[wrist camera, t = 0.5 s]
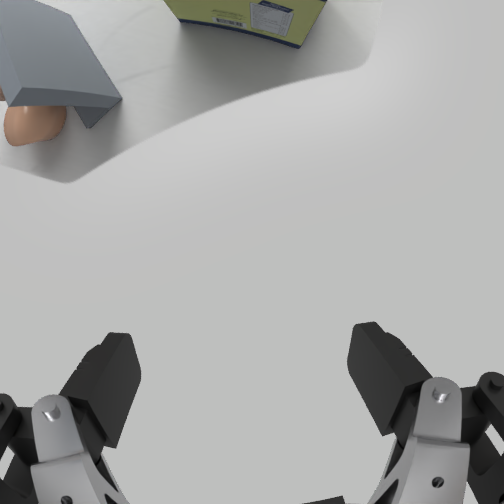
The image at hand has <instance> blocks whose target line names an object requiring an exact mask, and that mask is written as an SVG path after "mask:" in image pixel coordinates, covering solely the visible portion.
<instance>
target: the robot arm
mask: <svg viewBox="0 0 504 504" xmlns="http://www.w3.org/2000/svg"><path fill="white" fill-rule="evenodd" d="M347 365H348V371H349V374H350V376H351V377H352V379H353V381H354V383H355V385H356V387H357V389H358V391H359V392H360V394H361V396H362V398H363V400H364V402H365V404H366V406H367V408H368V410H369V412H370V413H371V415H372V417H373V419H374V421H375V423H376V425H377V427H378V429H379V431H380V433H381V435H382V436H385V435H388V434H390V433H395V435H396V439H395V441H394V443H393V446H392V449H391V452H390V456H389V458H388V461H387V464H386V467H385V470H384V472H383V475H382V477H381V480H380V482H379V485H378V487H377V488H376V490H375V492H374V494H373V495H372V497H371V499H370V500H369V502H368V504H463V499H464V493H465V488H466V482H468V484H469V485H470V487H471V489H472V491H473V493H474V495H475V498H476V500H477V502H478V504H504V453H503V454H502V456H500V454H499V453H498V451H497V450H496V448H495V447H494V445H493V444H492V442H491V440H490V439H489V437H488V436H487V434H486V433H485V431H486V430H487V428H488V427H489V426H490V424H492V425H493V426H494V428H495V429H496V431H497V432H498V433H499V435H500V437H501V438H502V439H503V441H504V376H503V375H502V374H499V373H496V372H487V373H484V374H483V375H482V376H481V377H480V379H479V381H478V383H477V385H476V386H473V387H465V388H459V386H458V385H457V384H456V383H454V382H453V381H452V380H450V379H447V378H443V377H434V378H433V377H432V376H431V374H430V373H429V372H428V371H427V370H426V369H425V368H424V366H423V365H422V364H421V363H420V362H419V361H418V359H417V358H416V357H415V356H414V355H412V353H411V351H410V350H409V349H408V348H407V349H406V346H405V345H404V344H403V343H402V341H401V340H400V339H398V338H397V337H395V336H394V335H392V334H390V333H388V332H387V333H385V332H384V331H383V330H382V328H381V327H380V326H379V325H378V324H377V323H376V322H367V323H361V324H356V325H355V326H354V327H353V331H352V338H351V343H350V348H349V353H348V359H347ZM140 381H141V369H140V365H139V361H138V358H137V354H136V351H135V348H134V344H133V340H132V337H131V335H130V334H128V333H113V332H110V333H108V335H107V336H106V337H105V339H104V340H103V342H102V343H101V345H97V346H95V347H94V348H92V349H91V350H89V351H88V352H87V353H86V355H85V356H84V358H83V359H82V362H80V363H79V365H78V366H77V370H75V371H74V372H73V374H72V375H71V377H70V378H69V380H68V381H67V383H66V384H65V385H64V387H63V389H62V390H61V392H60V394H59V395H48V396H45V397H43V398H41V399H39V400H38V401H37V402H36V403H35V404H34V406H33V407H17V406H16V404H15V403H14V401H13V400H12V398H11V397H10V396H9V395H7V394H0V460H1V457H2V456H3V454H4V452H5V450H6V447H7V446H8V447H9V448H10V449H11V450H12V451H13V452H14V454H15V455H14V457H13V459H12V461H11V463H10V466H9V468H8V470H7V473H6V475H5V477H4V480H2V479H1V478H0V504H129V502H128V501H127V500H126V498H125V497H124V495H123V493H122V492H121V490H120V488H119V486H118V484H117V482H116V481H115V478H114V476H113V475H112V473H111V470H110V468H109V466H108V464H107V462H106V460H105V458H104V456H103V454H102V453H101V452H102V450H103V447H104V446H107V447H111V448H116V447H117V444H118V441H119V438H120V435H121V433H122V430H123V427H124V424H125V421H126V419H127V416H128V413H129V410H130V408H131V405H132V402H133V400H134V397H135V394H136V392H137V389H138V387H139V384H140ZM304 504H345V502H344V499H343V496H339V497H335V498H330V499H325V500H321V501H315V502H310V503H304Z"/></svg>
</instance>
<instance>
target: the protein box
mask: <svg viewBox="0 0 504 504" xmlns="http://www.w3.org/2000/svg"><path fill="white" fill-rule="evenodd" d="M326 1H327V0H164V2H165V3H166V4H167V6H168V7H169V8H170V9H171V11H172V12H173V13H174V15H175V16H176V17H177V19H178V20H179V21H180V22H185V23H193V24H200V25H207V26H213V27H218V28H223V29H228V30H233V31H238V32H242V33H246V34H250V35H254V36H258V37H261V38H265V39H268V40H272V41H275V42H278V43H282V44H285V45H288V46H291V47H294V48H297V49H299V48H300V47H301V45H302V43H303V41H304V39H305V38H306V36H307V34H308V32H309V31H310V29H311V27H312V26H313V24H314V22H315V20H316V19H317V17H318V15H319V14H320V12H321V10H322V8H323V7H324V5H325V3H326Z"/></svg>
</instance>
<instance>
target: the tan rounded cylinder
mask: <svg viewBox="0 0 504 504" xmlns="http://www.w3.org/2000/svg"><path fill="white" fill-rule="evenodd" d="M65 119H66V106H18V107H8V109H7V111H6V114H5V119H4V133H5V137H6V139H7V141H8V143H9V144H11V145H12V146H20V145H25V144H30V143H35V142H41V141H46V140H51V139H53V138H55V137H56V136H57V135H58V134H59V133H60V131H61V129H62V128H63V125H64V122H65Z"/></svg>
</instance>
